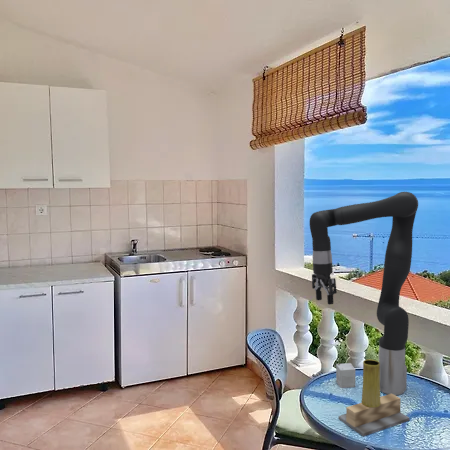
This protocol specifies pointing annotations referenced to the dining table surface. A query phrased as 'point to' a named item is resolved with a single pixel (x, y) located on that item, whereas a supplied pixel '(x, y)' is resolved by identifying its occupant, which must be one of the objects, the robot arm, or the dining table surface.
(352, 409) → the ridge
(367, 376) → the vase
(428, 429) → the dining table surface
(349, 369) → the skincare box
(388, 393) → the robot arm
